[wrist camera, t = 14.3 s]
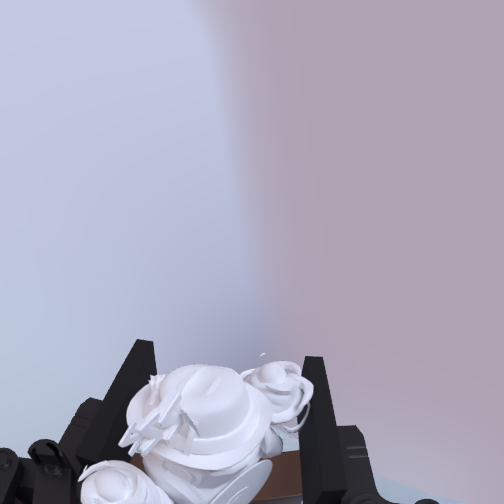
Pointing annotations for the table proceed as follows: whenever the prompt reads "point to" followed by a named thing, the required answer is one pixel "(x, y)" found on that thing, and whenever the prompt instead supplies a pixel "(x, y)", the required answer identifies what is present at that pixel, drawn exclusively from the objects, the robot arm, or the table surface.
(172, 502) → the hat wearing toy figure
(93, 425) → the robot arm
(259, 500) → the rack
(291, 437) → the table surface
